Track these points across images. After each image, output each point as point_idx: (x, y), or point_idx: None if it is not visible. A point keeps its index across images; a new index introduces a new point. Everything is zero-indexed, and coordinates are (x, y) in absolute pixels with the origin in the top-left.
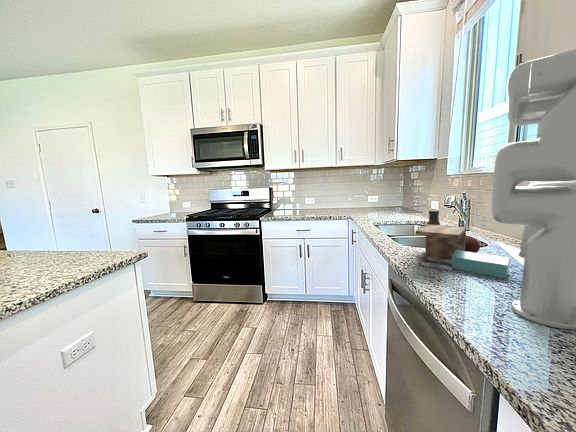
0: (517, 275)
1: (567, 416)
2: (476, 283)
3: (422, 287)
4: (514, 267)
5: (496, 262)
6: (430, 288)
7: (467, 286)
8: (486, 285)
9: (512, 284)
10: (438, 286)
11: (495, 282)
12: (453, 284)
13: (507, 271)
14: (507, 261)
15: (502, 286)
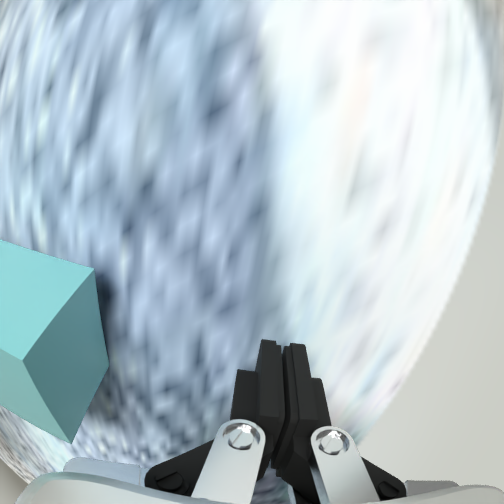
0: (160, 271)
1: None
2: (51, 440)
3: (7, 462)
4: (174, 22)
5: (13, 407)
6: (17, 467)
7: (49, 459)
8: (77, 452)
9: (143, 434)
10: (17, 459)
11: (87, 425)
12: (24, 449)
13: (89, 376)
14: (45, 410)
15: (117, 455)
